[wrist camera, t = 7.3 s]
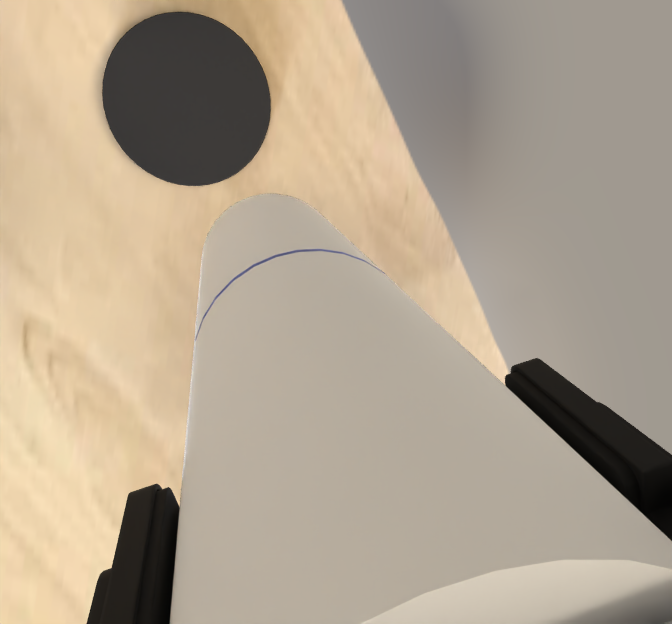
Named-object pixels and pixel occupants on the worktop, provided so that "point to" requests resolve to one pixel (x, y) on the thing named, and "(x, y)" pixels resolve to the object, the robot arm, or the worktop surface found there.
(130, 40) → the coaster
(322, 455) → the cylindrical container
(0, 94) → the worktop surface
